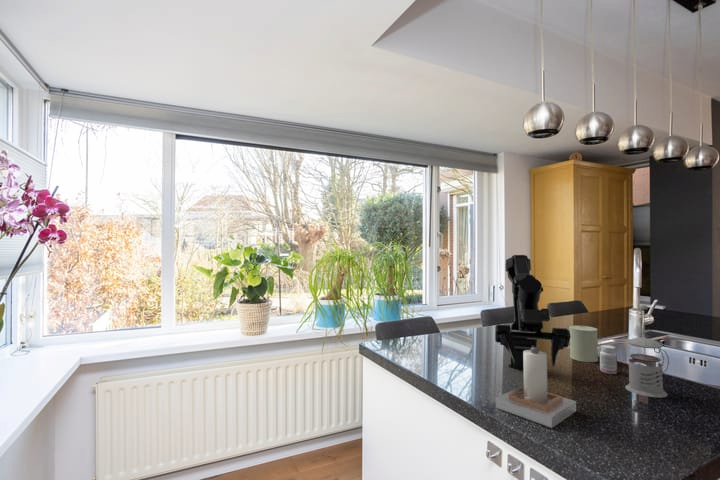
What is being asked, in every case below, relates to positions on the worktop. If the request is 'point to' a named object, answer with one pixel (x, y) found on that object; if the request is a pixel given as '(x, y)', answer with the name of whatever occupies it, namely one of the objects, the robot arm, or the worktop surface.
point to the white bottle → (535, 375)
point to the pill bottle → (608, 359)
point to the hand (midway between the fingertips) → (534, 363)
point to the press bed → (537, 407)
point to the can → (583, 343)
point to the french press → (646, 368)
